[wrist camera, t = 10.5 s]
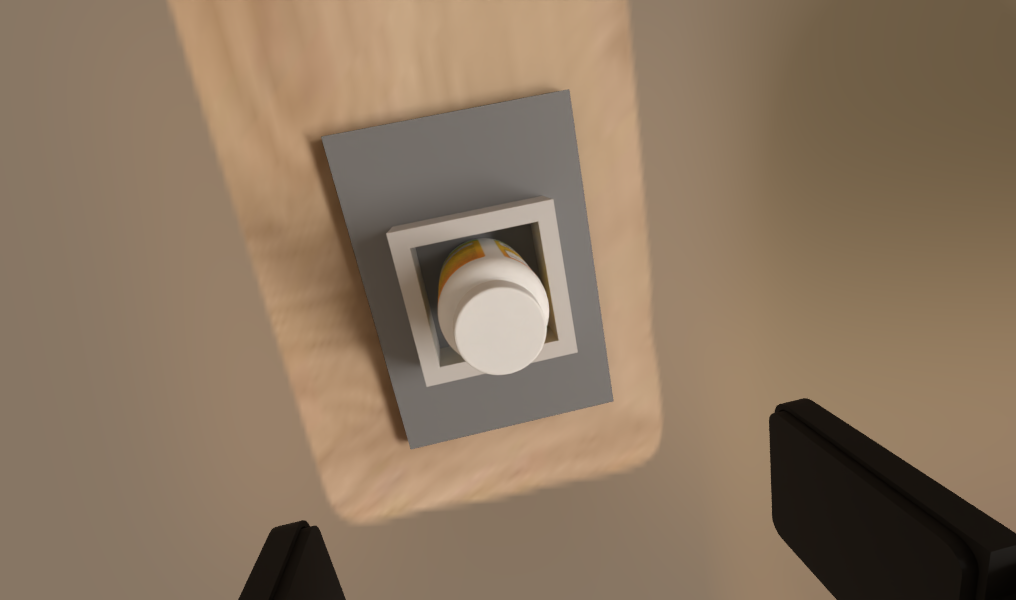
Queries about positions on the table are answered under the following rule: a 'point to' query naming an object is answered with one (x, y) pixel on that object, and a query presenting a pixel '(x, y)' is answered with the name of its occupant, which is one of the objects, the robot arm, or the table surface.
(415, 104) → the table surface
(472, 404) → the cup holder
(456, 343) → the supplement bottle
